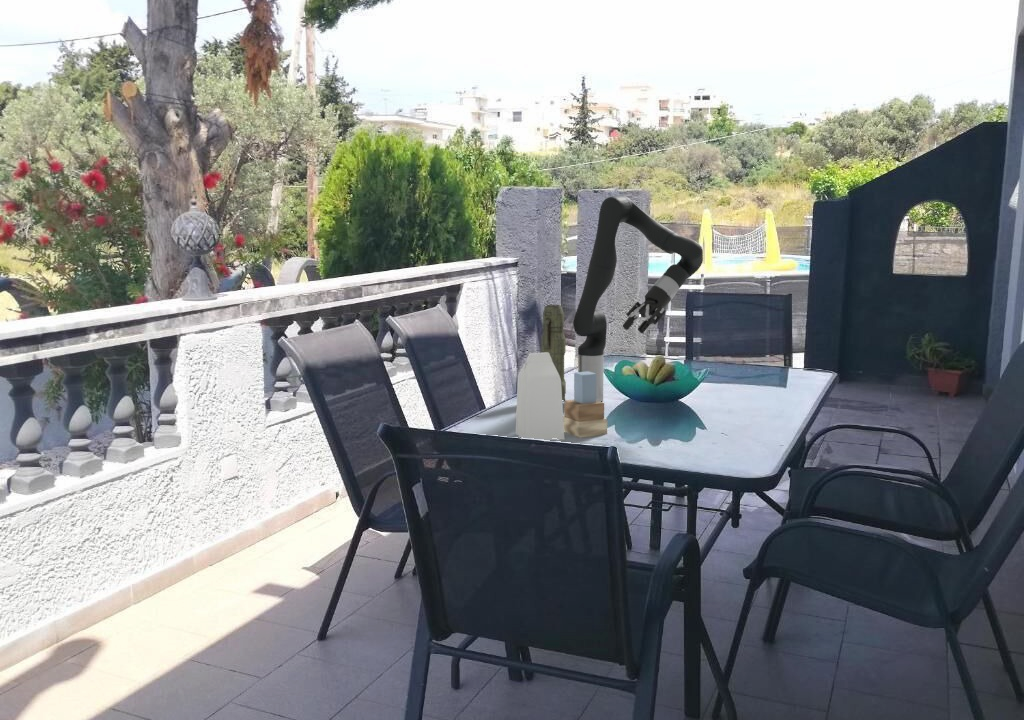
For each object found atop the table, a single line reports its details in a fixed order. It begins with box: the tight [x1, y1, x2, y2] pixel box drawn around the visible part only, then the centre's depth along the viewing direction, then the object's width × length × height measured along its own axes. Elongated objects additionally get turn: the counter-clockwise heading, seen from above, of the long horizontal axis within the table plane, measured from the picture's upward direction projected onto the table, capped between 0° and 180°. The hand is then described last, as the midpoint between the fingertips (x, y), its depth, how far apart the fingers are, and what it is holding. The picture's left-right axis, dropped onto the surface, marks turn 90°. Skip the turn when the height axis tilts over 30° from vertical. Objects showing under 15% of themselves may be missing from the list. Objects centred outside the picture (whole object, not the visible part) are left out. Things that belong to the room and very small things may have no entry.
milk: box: [515, 352, 565, 441], centre depth 275 cm, size 12×12×26 cm
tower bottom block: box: [563, 415, 608, 439], centre depth 281 cm, size 10×10×5 cm
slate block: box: [573, 371, 596, 404], centre depth 280 cm, size 5×5×9 cm
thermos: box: [540, 304, 567, 401], centre depth 329 cm, size 9×12×35 cm
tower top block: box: [563, 399, 605, 422], centre depth 281 cm, size 9×9×5 cm
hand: (632, 329), depth 290 cm, fingers open, 8 cm apart
